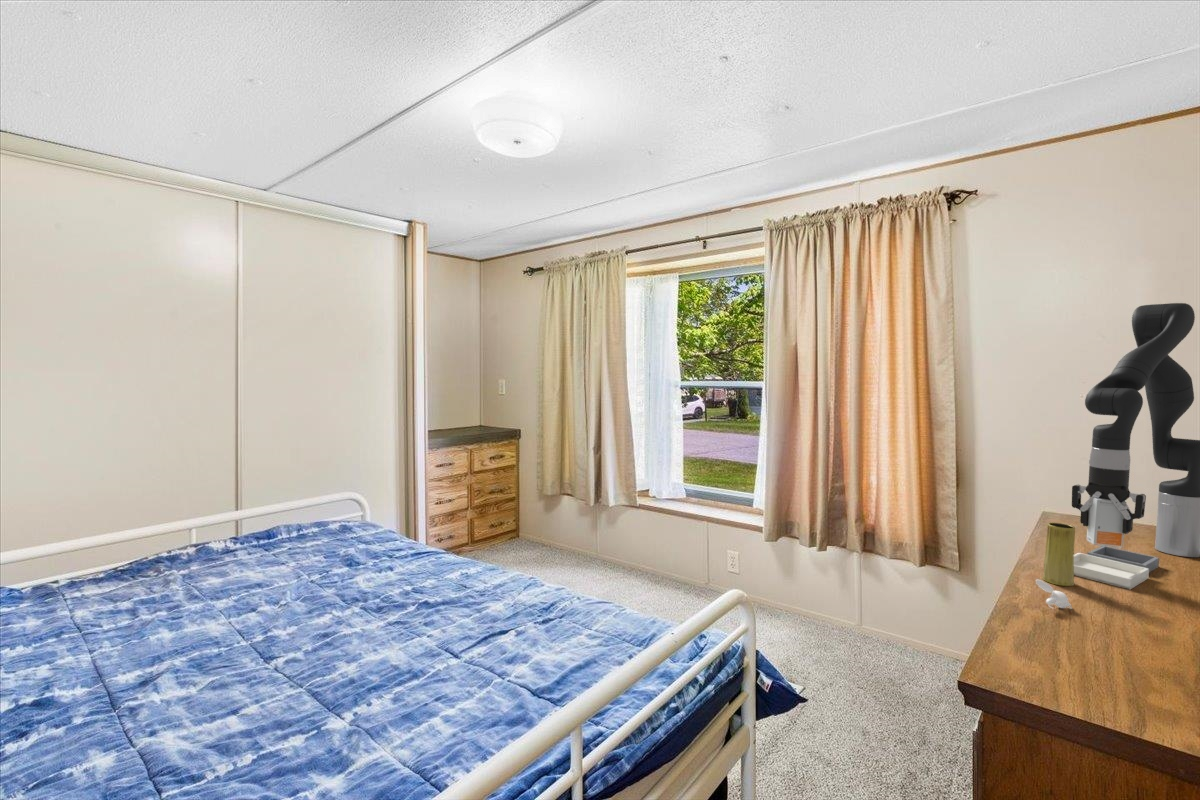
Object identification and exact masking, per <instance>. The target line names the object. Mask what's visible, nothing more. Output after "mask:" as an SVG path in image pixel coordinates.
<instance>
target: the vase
mask: <svg viewBox="0 0 1200 800" xmlns="http://www.w3.org/2000/svg"><path fill="white" fill-rule="evenodd" d="M1075 538H1076V527H1075V526H1073V525H1071V524H1067V523H1061V522H1048V523H1047V533H1046V541H1045V551H1044V561H1043V572H1042V573H1043V574H1042V576H1041V580H1042V581H1043V580H1044V582H1046V583H1048V584H1052V585H1055V586H1060V587H1061V586H1062V587H1072V586H1075V575H1074V554H1075Z"/></svg>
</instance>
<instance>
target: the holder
mask: <svg viewBox="0 0 1200 800" xmlns="http://www.w3.org/2000/svg"><path fill="white" fill-rule="evenodd" d="M1087 555H1092V556H1096V557H1100V558H1105V559H1109V560H1113V561H1118V562H1122V563H1127V564H1131V565H1135V566H1140V567H1144V568H1148V569H1149V573H1151V572H1152V571H1154V570H1156V569H1157V568H1159V567H1160V565H1159V564H1160V557H1159V556H1158V557H1157V556H1154V555H1148V554H1144V553H1140V552H1133V551H1130V550H1125V549H1122V548H1117V547H1110V546H1101V545H1100V546H1099V547H1097V548H1094V549H1092V550H1090V551H1088V552H1087Z"/></svg>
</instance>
